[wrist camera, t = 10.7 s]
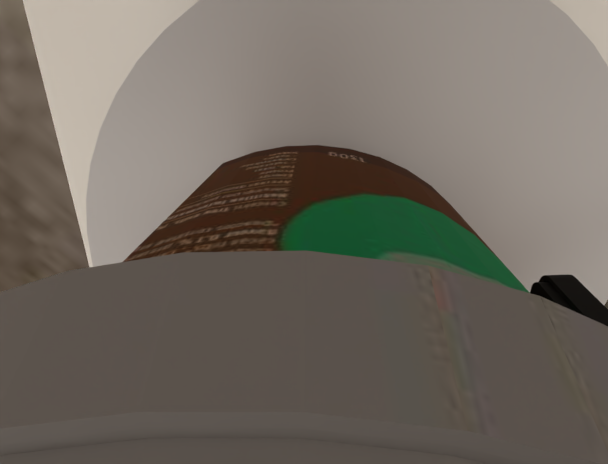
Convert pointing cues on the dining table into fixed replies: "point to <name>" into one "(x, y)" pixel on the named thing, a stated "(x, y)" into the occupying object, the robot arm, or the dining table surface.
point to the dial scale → (340, 109)
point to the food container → (301, 335)
